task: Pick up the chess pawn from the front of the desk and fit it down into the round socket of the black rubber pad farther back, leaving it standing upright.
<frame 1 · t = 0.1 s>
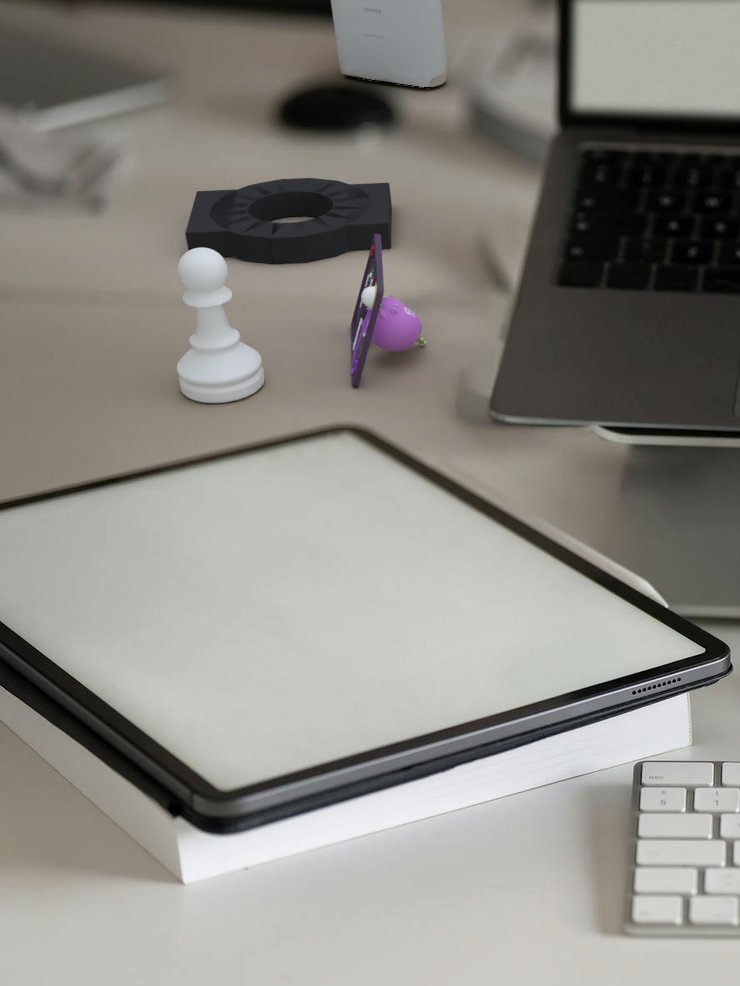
photo printer: (394, 81, 155), on the table
chess pawn: (223, 388, 105), on the table
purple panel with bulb: (389, 356, 109), on the table
socket pad: (294, 232, 125), on the table
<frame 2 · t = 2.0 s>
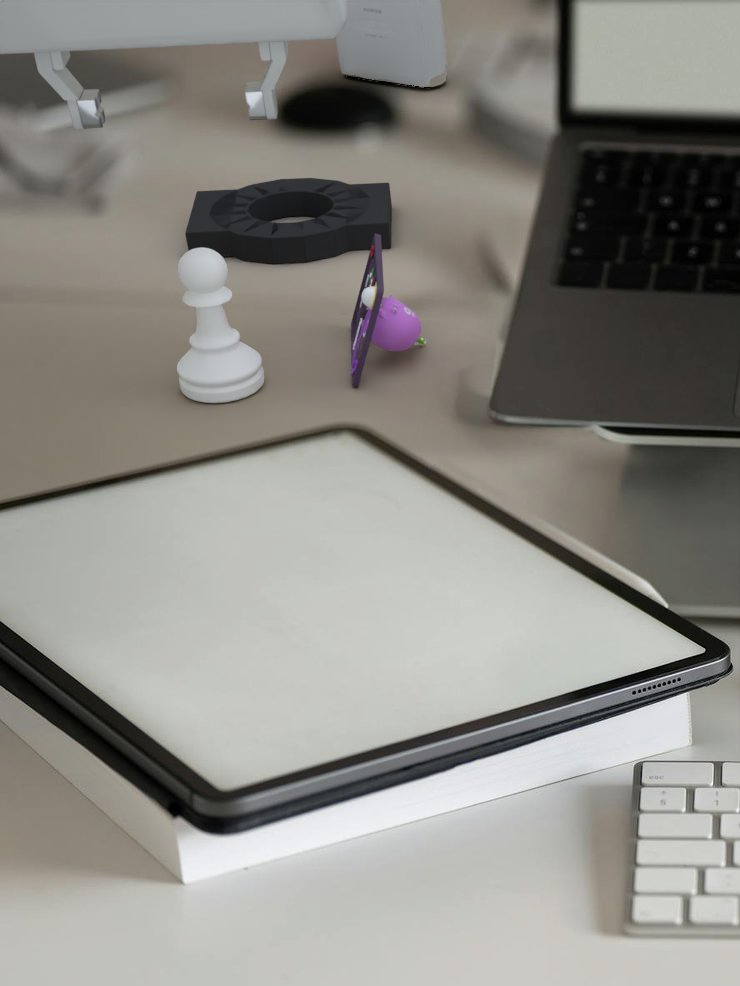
hand: (177, 121, 96), 17 cm above the table, tool pointing down, fingers open, 8 cm apart
nothing on the table moved.
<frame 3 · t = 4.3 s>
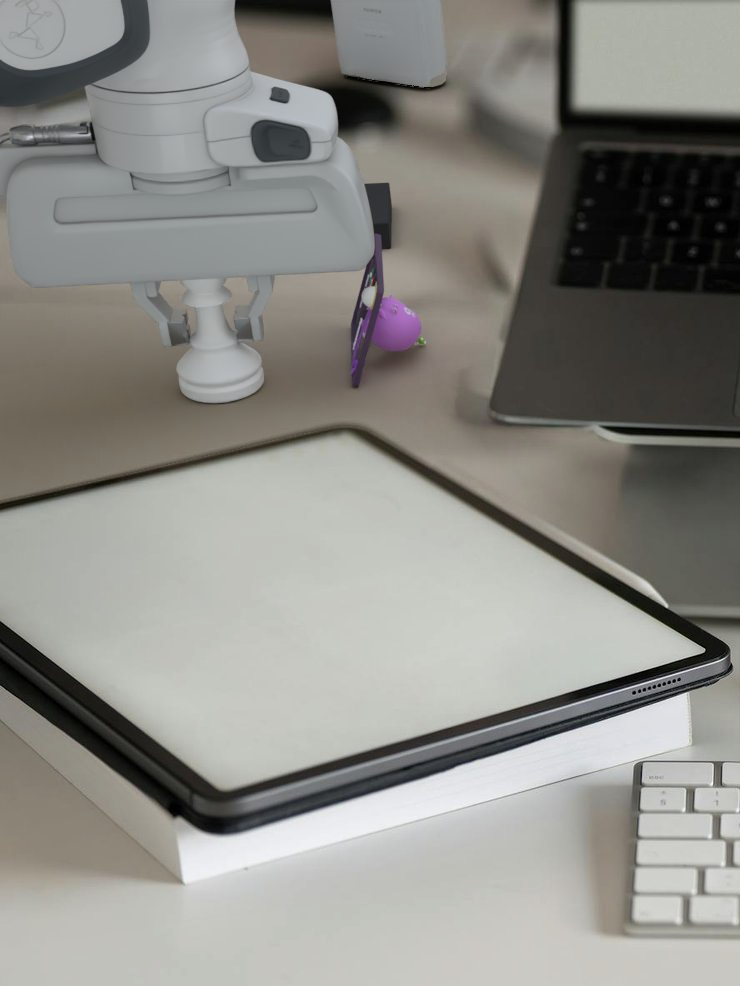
hand: (215, 340, 103), 3 cm above the table, tool pointing down, fingers closed on chess pawn, 3 cm apart
chess pawn: (223, 388, 105), on the table, touching gripper
everything else where it was.
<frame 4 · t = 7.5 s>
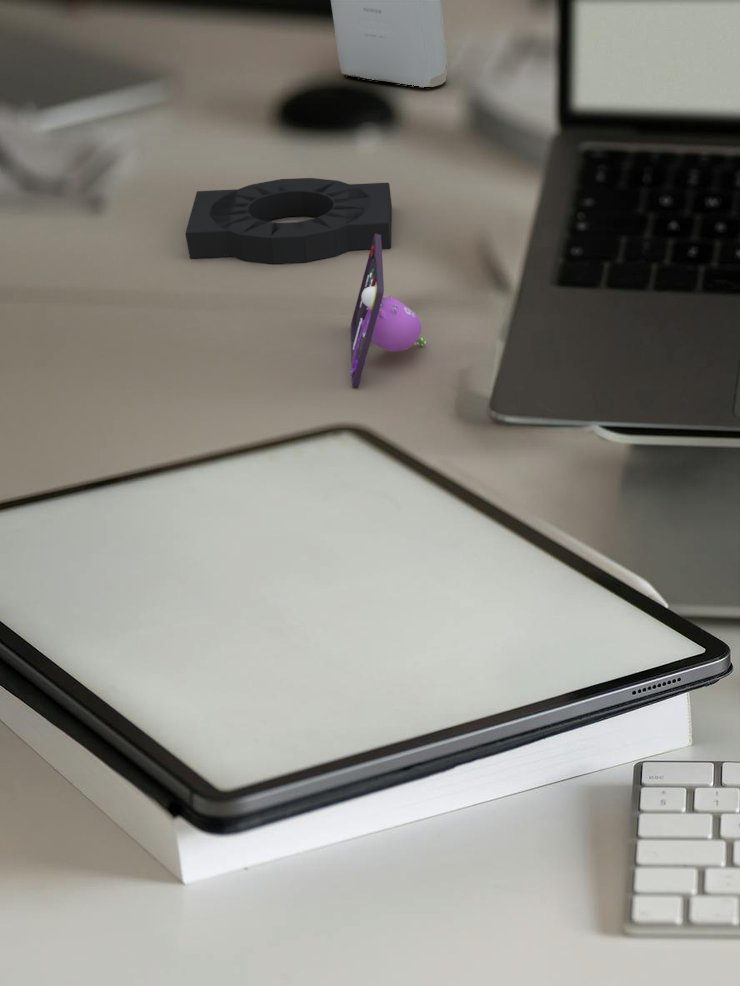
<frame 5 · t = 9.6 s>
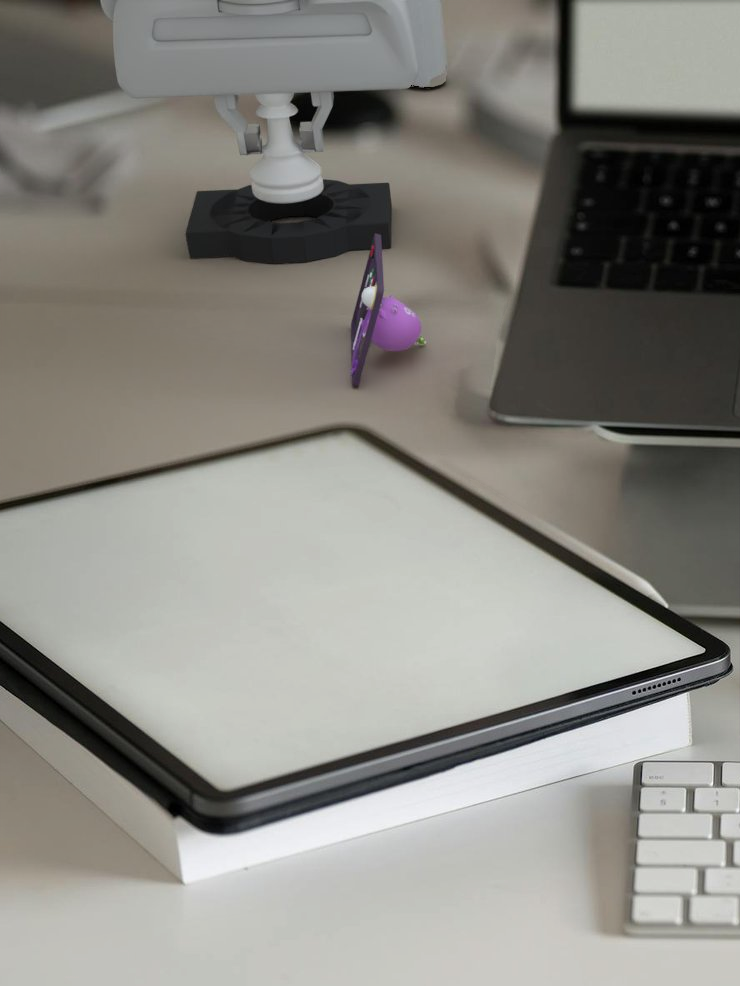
hand: (283, 151, 122), 6 cm above the table, tool pointing down, fingers closed on chess pawn, 3 cm apart
chess pawn: (289, 194, 123), point 3 cm above the table, touching gripper
everything else where it was.
when the fingers open (3 cm above the table, at t = 10.8 s): chess pawn stays where it is, resting in socket pad.
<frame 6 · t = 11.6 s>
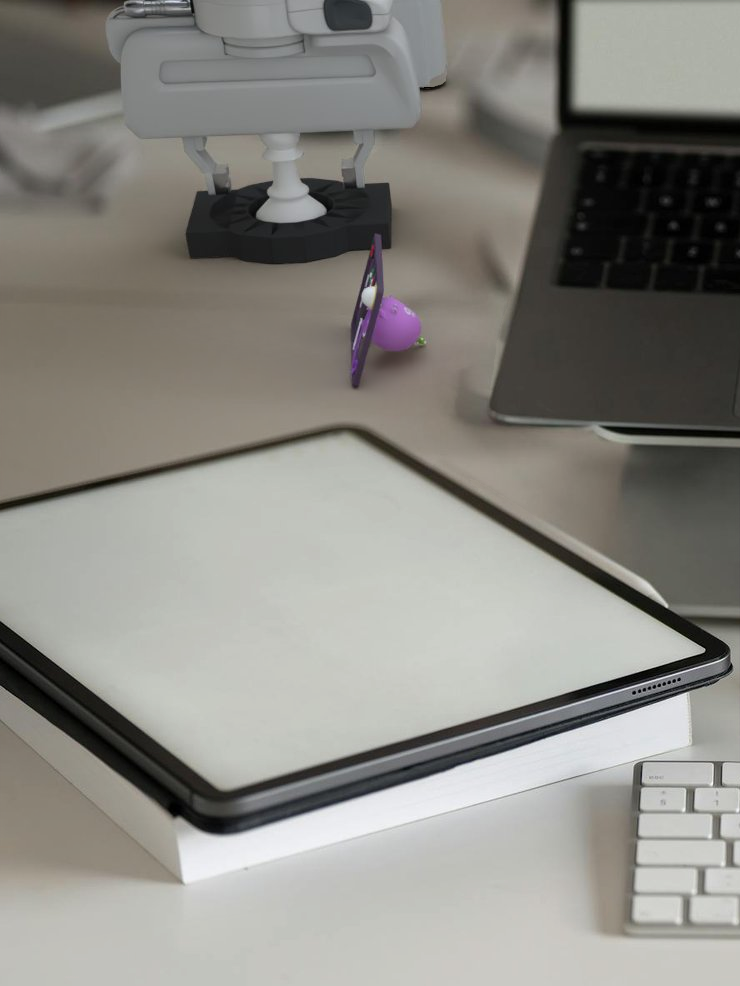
hand: (288, 189, 123), 3 cm above the table, tool pointing down, fingers open, 8 cm apart
chess pawn: (294, 234, 125), resting in socket pad
everything else where it was.
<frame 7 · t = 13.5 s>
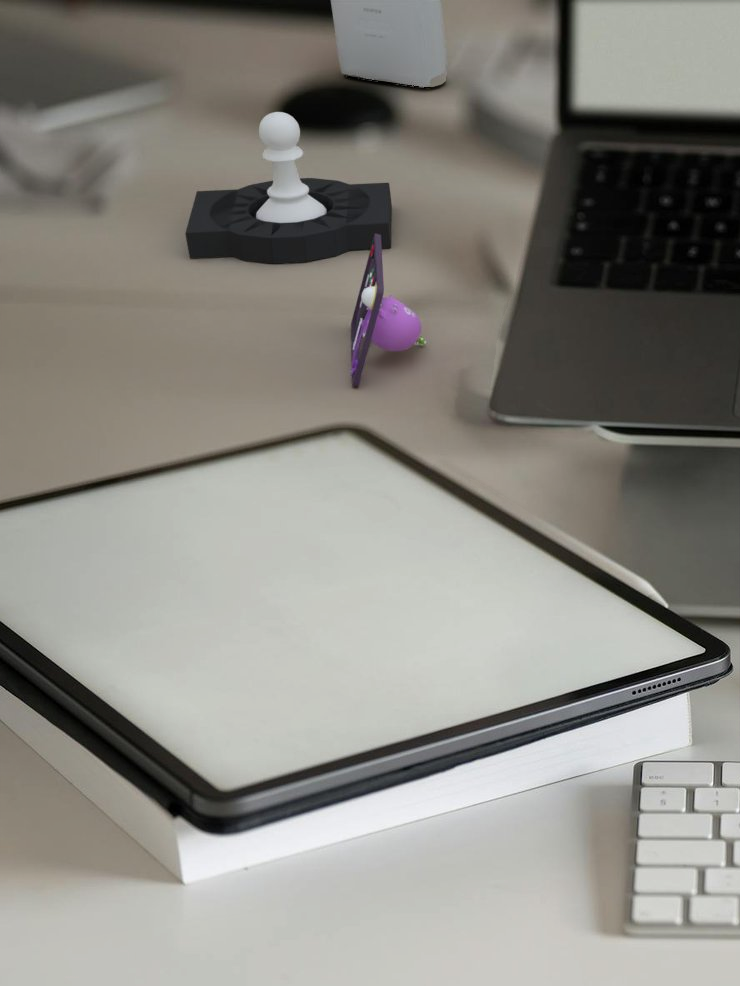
nothing on the table moved.
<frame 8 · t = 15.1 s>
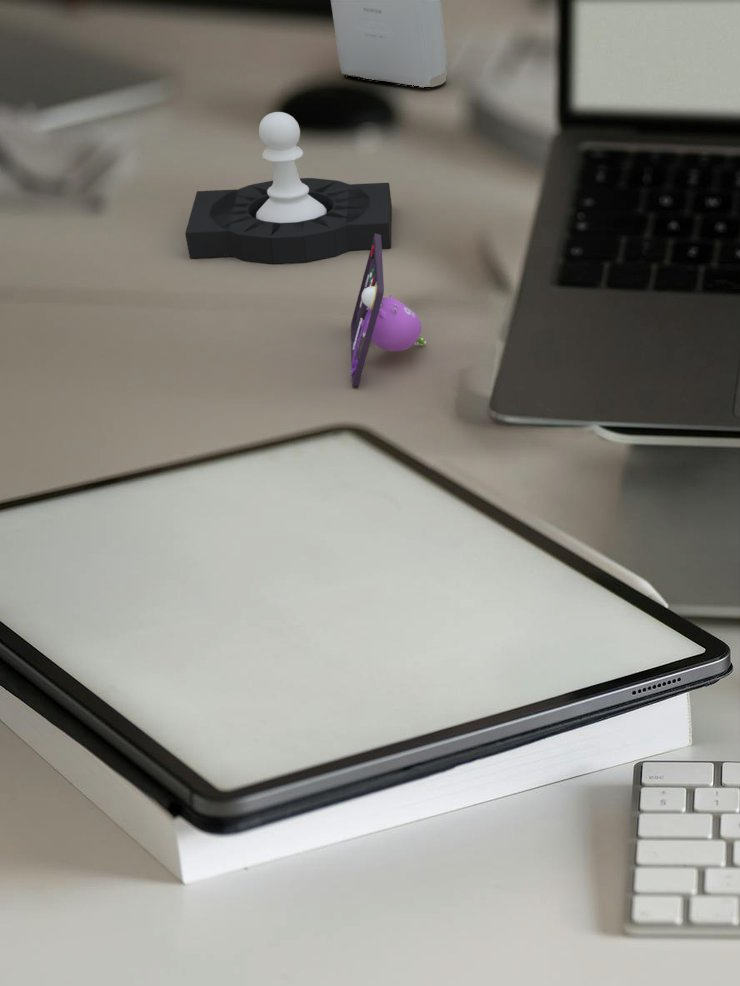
nothing on the table moved.
at the end: chess pawn 0.1 cm off-centre in the socket pad, point 0.0 cm above the socket pad's base; chess pawn tilted 0°; the gripper is holding nothing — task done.
